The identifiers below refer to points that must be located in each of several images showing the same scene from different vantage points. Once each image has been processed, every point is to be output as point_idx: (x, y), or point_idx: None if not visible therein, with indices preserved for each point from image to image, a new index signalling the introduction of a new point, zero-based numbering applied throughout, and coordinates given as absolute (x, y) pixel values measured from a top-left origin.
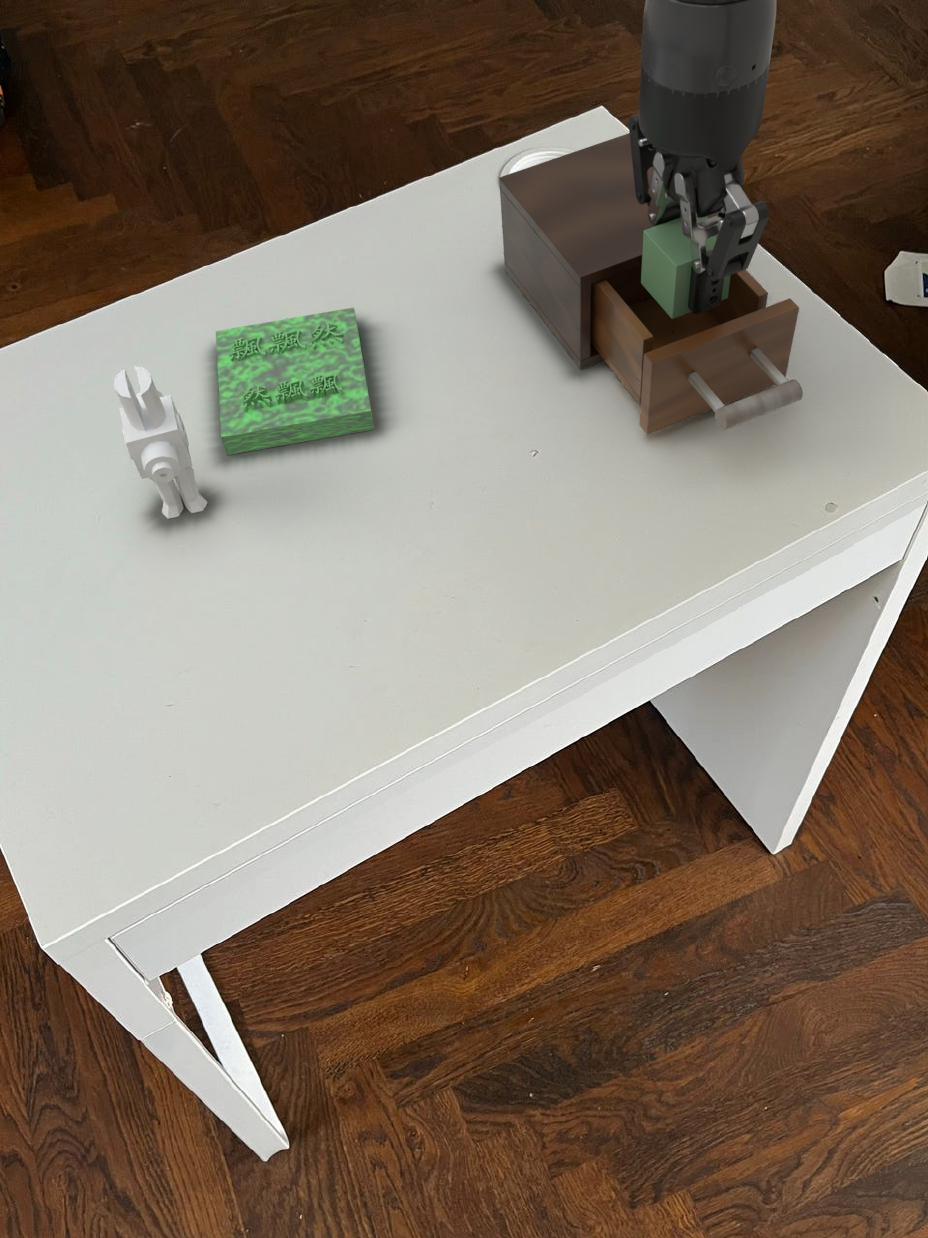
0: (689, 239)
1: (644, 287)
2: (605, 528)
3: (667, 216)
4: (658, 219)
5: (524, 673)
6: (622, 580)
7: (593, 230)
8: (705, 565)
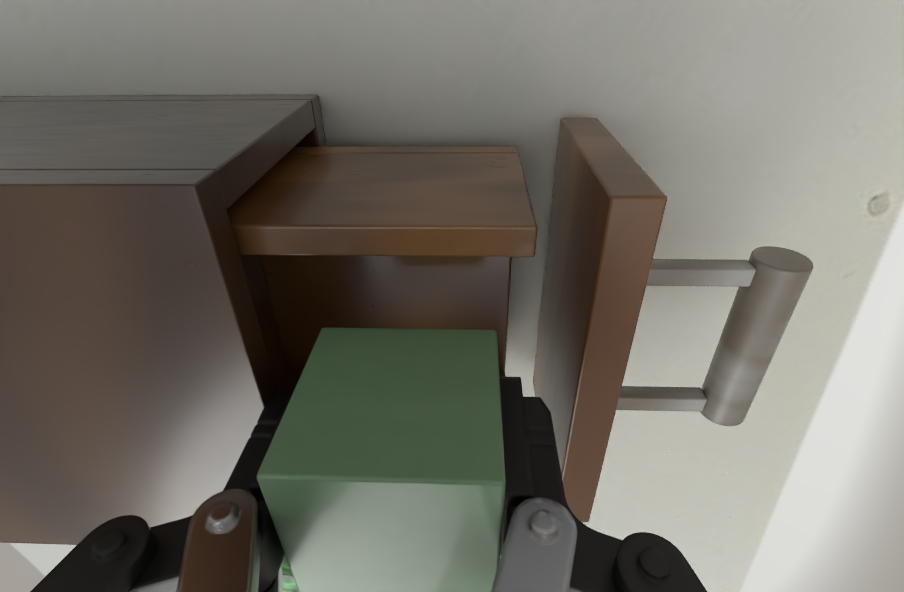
0: (401, 552)
1: (252, 294)
2: (646, 456)
3: (272, 567)
4: (281, 589)
5: (741, 562)
6: (725, 471)
7: (154, 489)
8: (789, 400)
